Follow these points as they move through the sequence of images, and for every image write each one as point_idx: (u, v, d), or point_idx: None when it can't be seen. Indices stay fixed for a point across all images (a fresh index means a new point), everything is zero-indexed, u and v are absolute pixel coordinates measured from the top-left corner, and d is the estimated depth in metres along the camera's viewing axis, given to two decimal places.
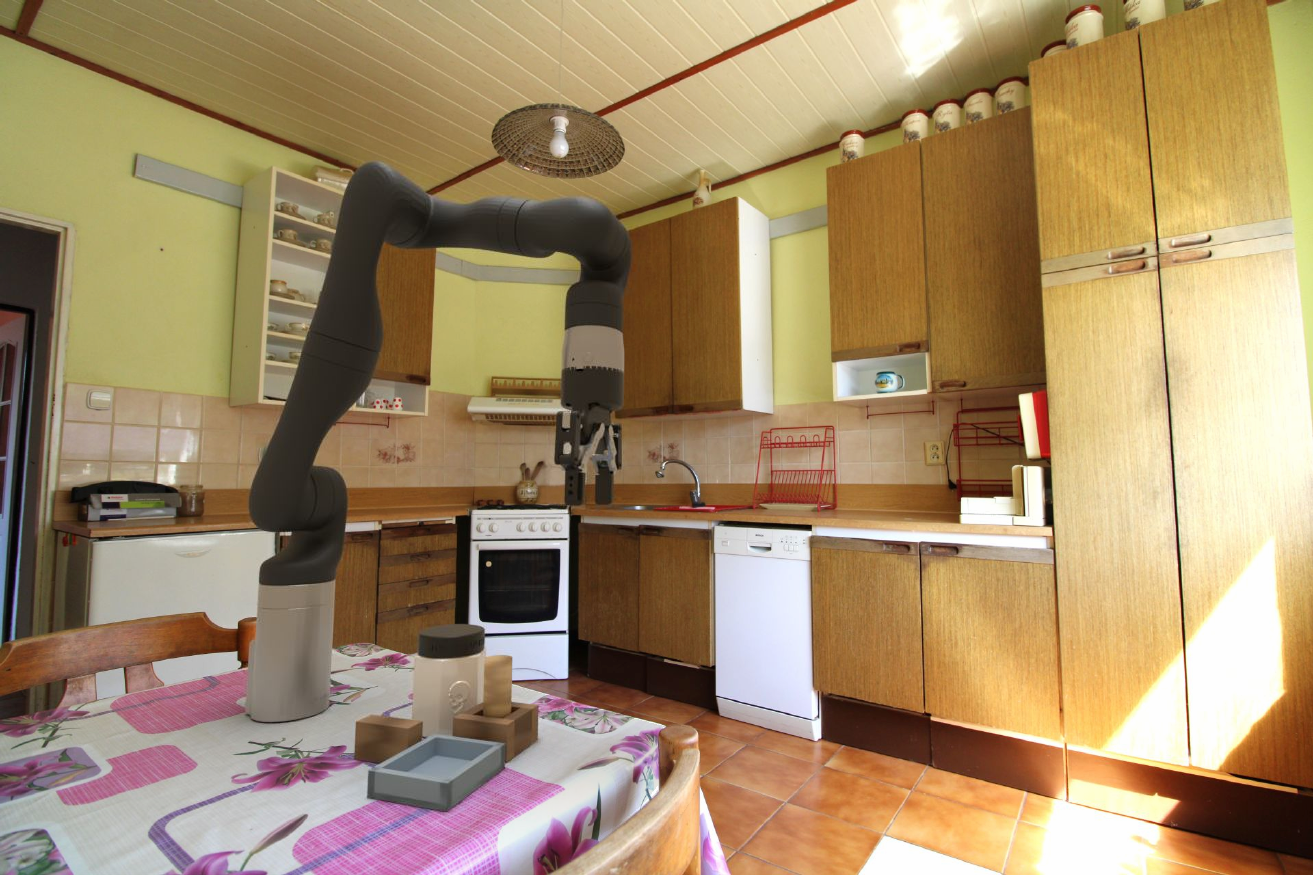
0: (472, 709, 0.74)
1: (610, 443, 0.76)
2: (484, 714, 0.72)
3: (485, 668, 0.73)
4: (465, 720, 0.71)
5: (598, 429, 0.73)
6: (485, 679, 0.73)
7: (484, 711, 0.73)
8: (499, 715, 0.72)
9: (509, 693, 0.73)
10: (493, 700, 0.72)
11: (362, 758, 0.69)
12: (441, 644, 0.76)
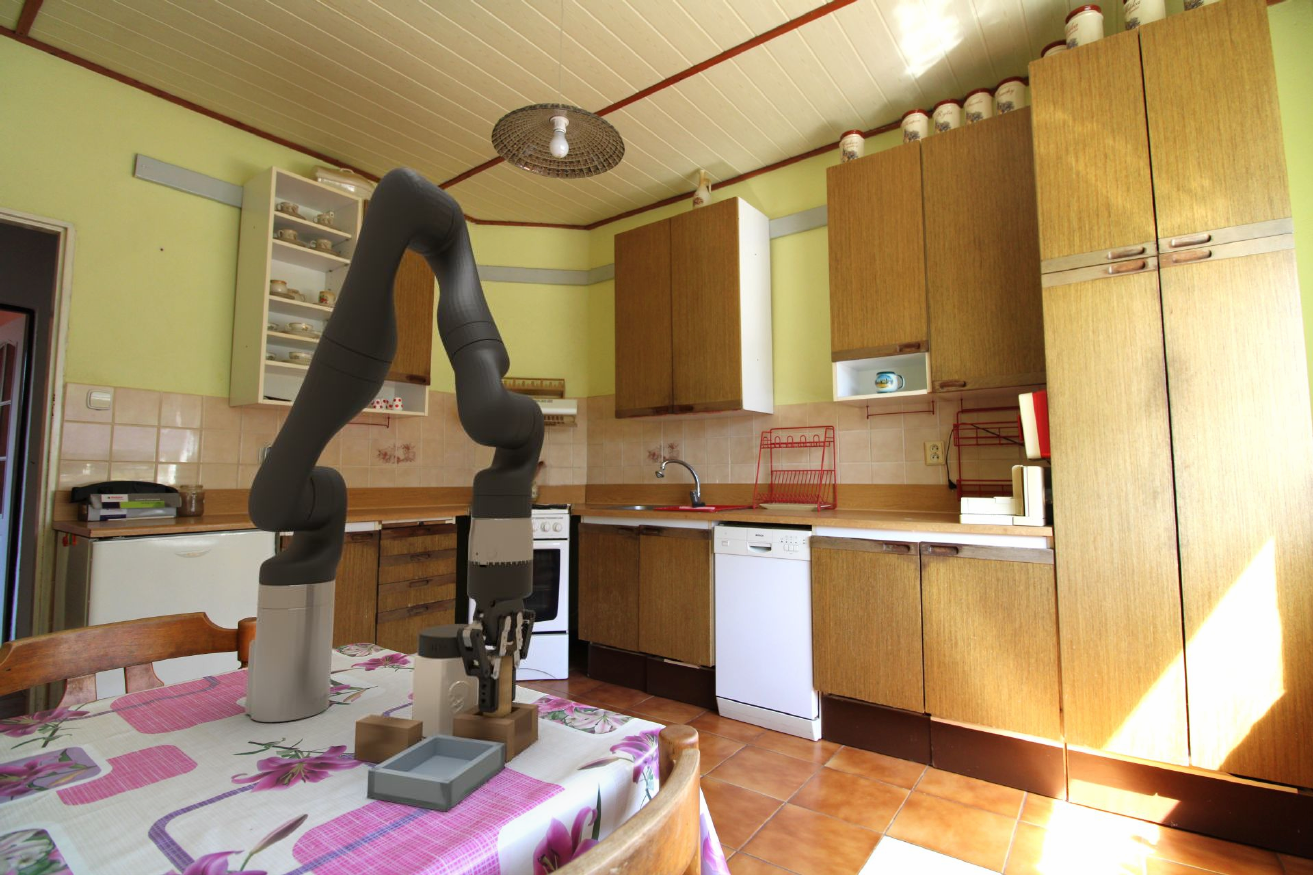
0: (472, 709, 0.74)
1: (516, 631, 0.75)
2: (484, 714, 0.73)
3: None
4: (465, 720, 0.71)
5: (503, 627, 0.72)
6: None
7: None
8: (499, 715, 0.72)
9: (509, 693, 0.73)
10: None
11: (362, 758, 0.69)
12: (441, 644, 0.76)
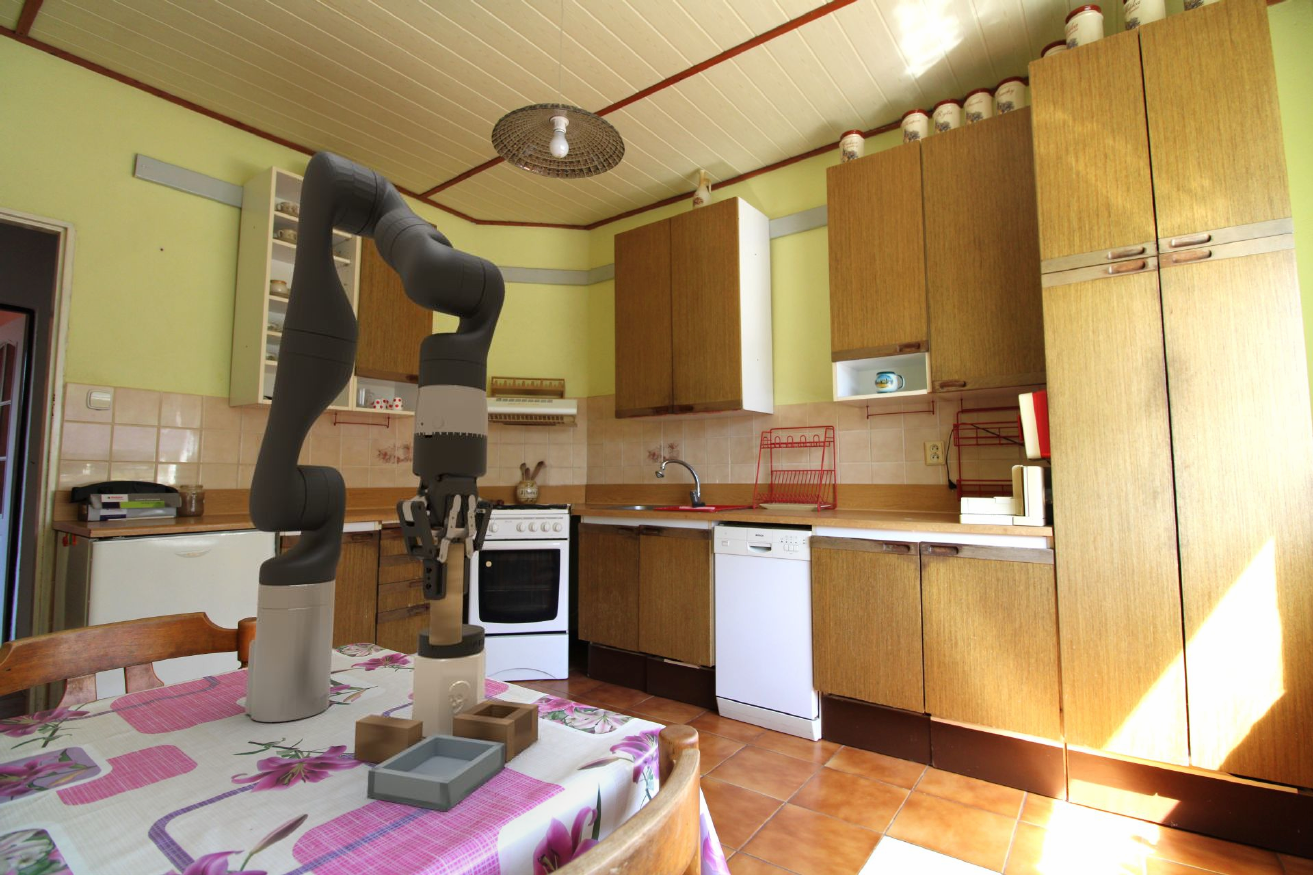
0: (472, 709, 0.74)
1: (468, 516, 0.67)
2: (431, 604, 0.65)
3: None
4: (465, 720, 0.71)
5: (452, 506, 0.64)
6: None
7: (431, 600, 0.65)
8: (448, 604, 0.64)
9: (460, 581, 0.66)
10: None
11: (362, 758, 0.69)
12: None
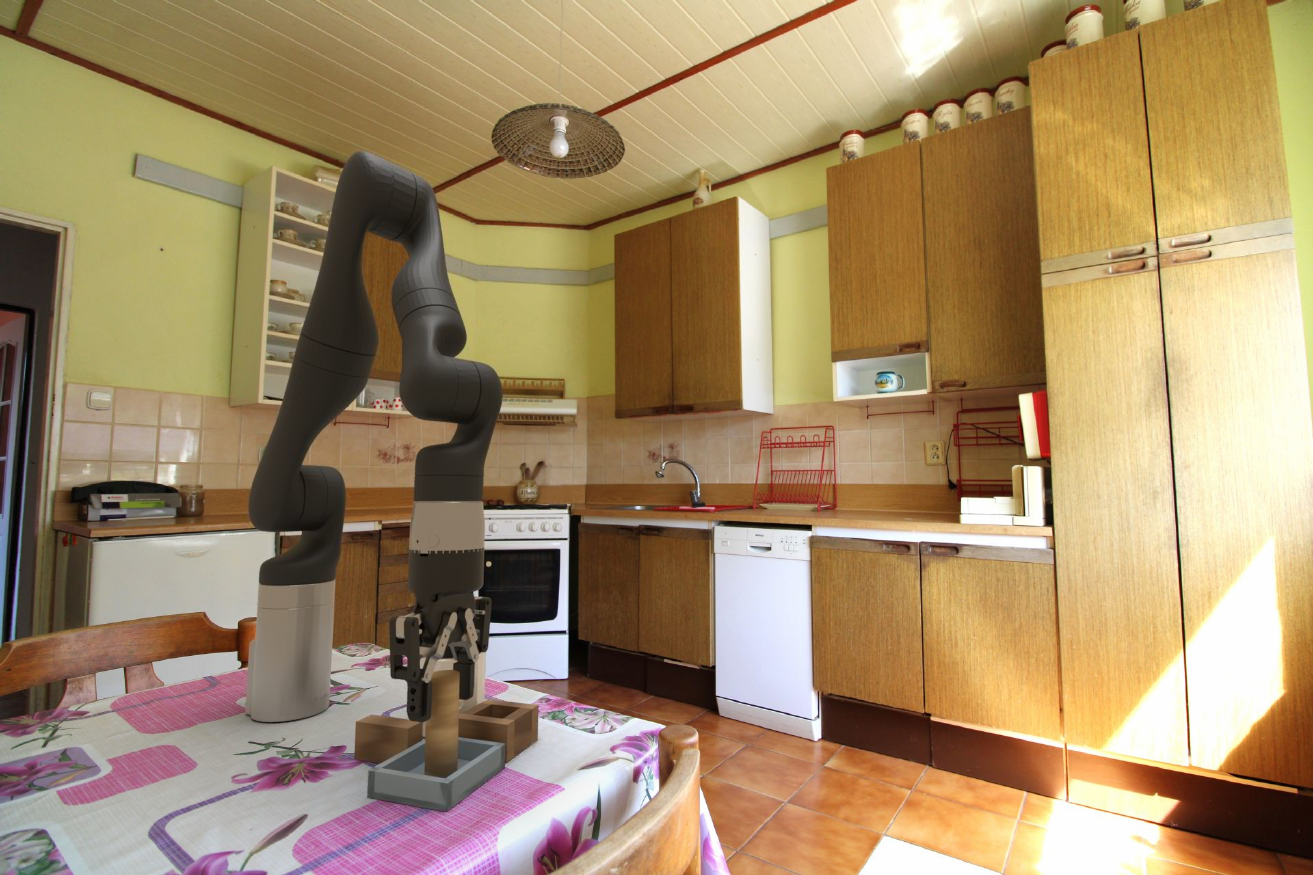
0: (472, 709, 0.74)
1: (468, 628, 0.67)
2: (426, 738, 0.63)
3: None
4: (465, 720, 0.71)
5: (447, 623, 0.63)
6: None
7: (426, 735, 0.63)
8: (443, 740, 0.63)
9: (455, 714, 0.64)
10: (436, 722, 0.63)
11: (362, 758, 0.69)
12: None
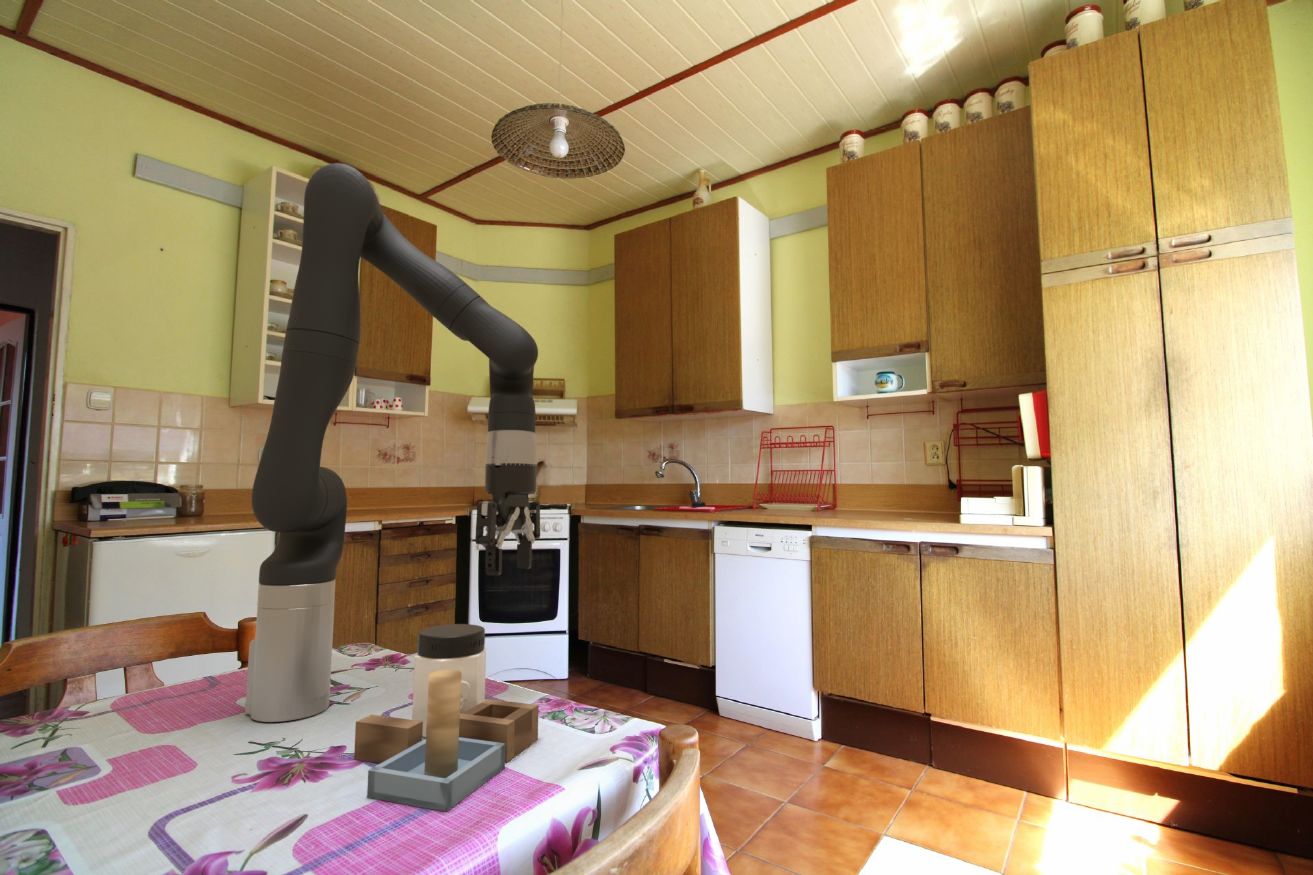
0: (472, 709, 0.74)
1: (526, 520, 0.96)
2: (427, 738, 0.64)
3: (429, 685, 0.64)
4: (465, 720, 0.71)
5: (513, 512, 0.92)
6: (429, 698, 0.64)
7: (427, 734, 0.64)
8: (443, 739, 0.63)
9: (456, 714, 0.64)
10: (437, 722, 0.63)
11: (362, 758, 0.69)
12: (441, 644, 0.76)
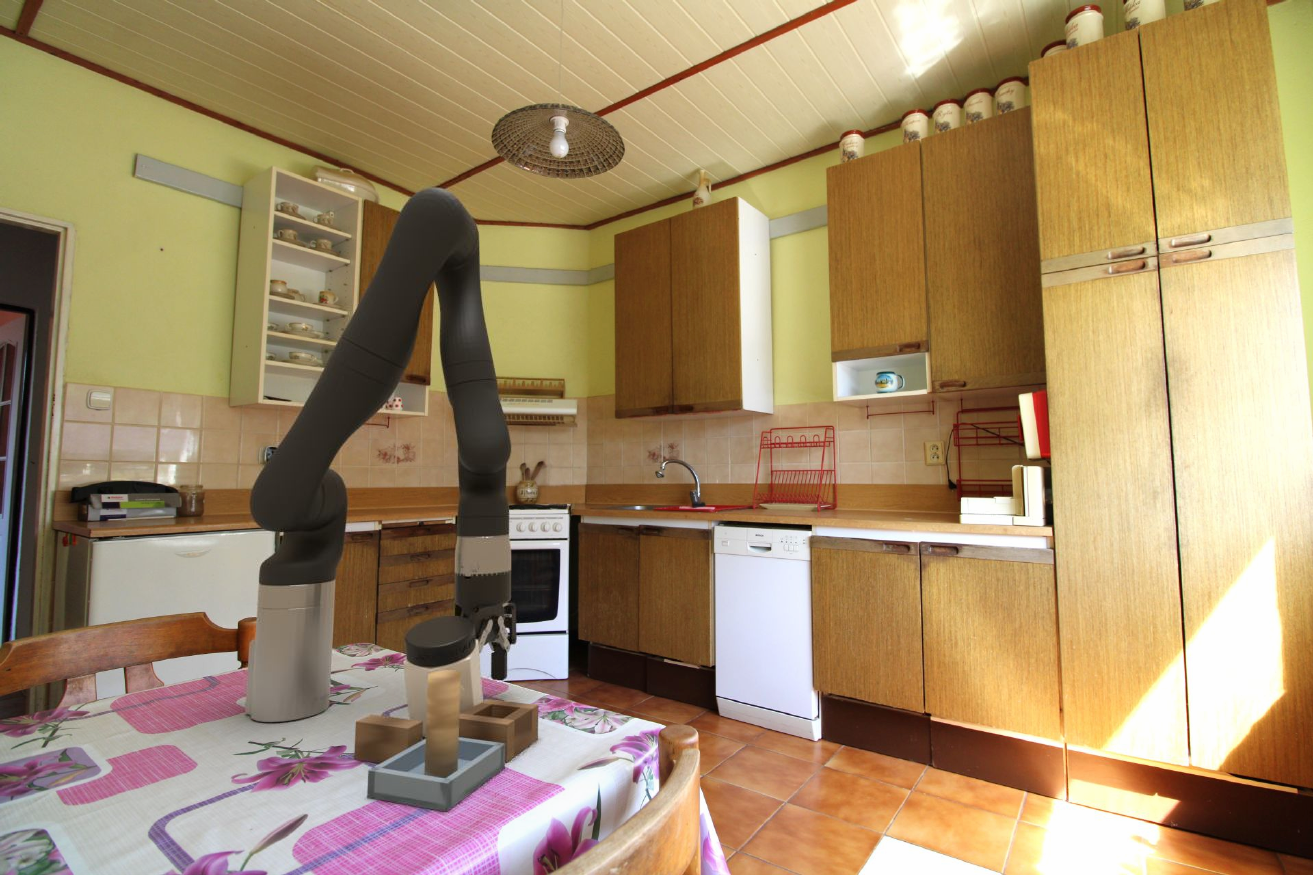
0: (472, 709, 0.74)
1: (500, 630, 0.88)
2: (427, 738, 0.64)
3: (428, 686, 0.64)
4: (465, 720, 0.71)
5: (485, 627, 0.84)
6: (428, 698, 0.64)
7: (427, 735, 0.64)
8: (443, 740, 0.63)
9: (456, 714, 0.64)
10: (437, 722, 0.63)
11: (362, 758, 0.69)
12: (429, 654, 0.73)
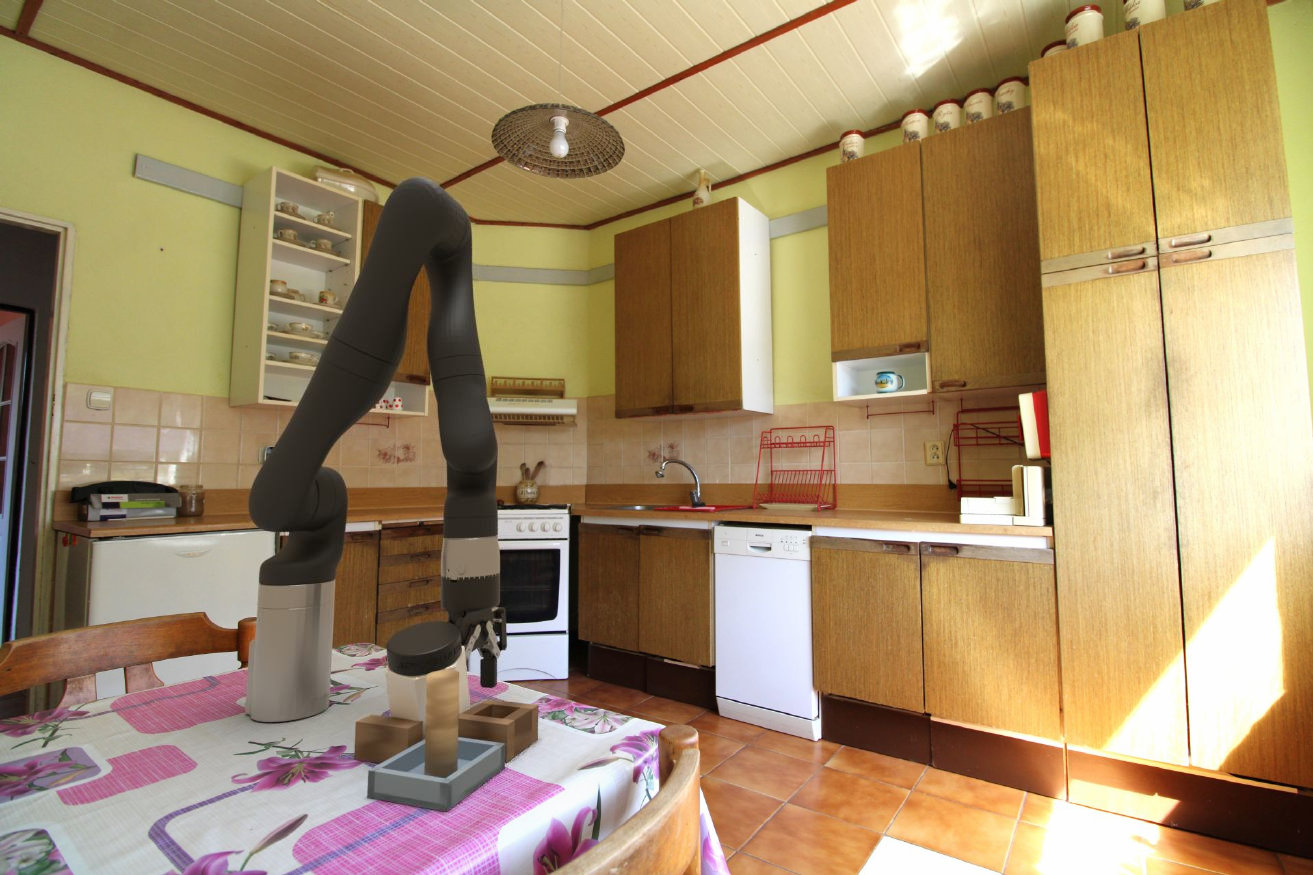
0: (472, 709, 0.74)
1: (489, 635, 0.84)
2: (426, 738, 0.63)
3: (427, 686, 0.64)
4: (465, 720, 0.71)
5: (473, 632, 0.81)
6: (427, 699, 0.64)
7: (426, 735, 0.64)
8: (442, 740, 0.63)
9: (454, 714, 0.64)
10: (435, 722, 0.63)
11: (362, 758, 0.69)
12: (411, 662, 0.69)
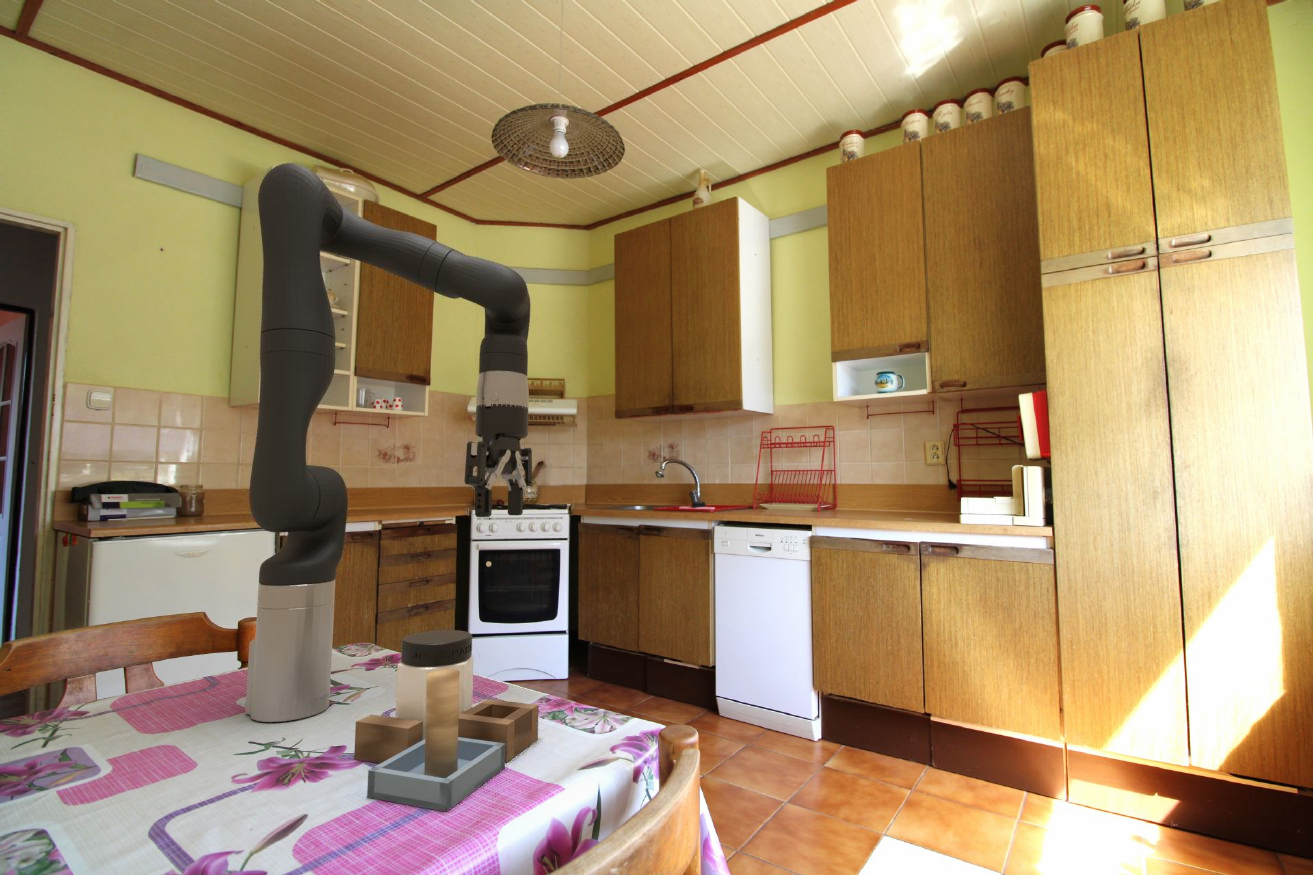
0: (472, 709, 0.74)
1: (517, 465, 0.94)
2: (426, 737, 0.64)
3: (427, 684, 0.64)
4: (465, 720, 0.71)
5: (504, 454, 0.90)
6: (427, 697, 0.64)
7: (426, 734, 0.64)
8: (442, 738, 0.63)
9: (454, 713, 0.64)
10: (435, 721, 0.63)
11: (362, 758, 0.69)
12: (425, 652, 0.72)
